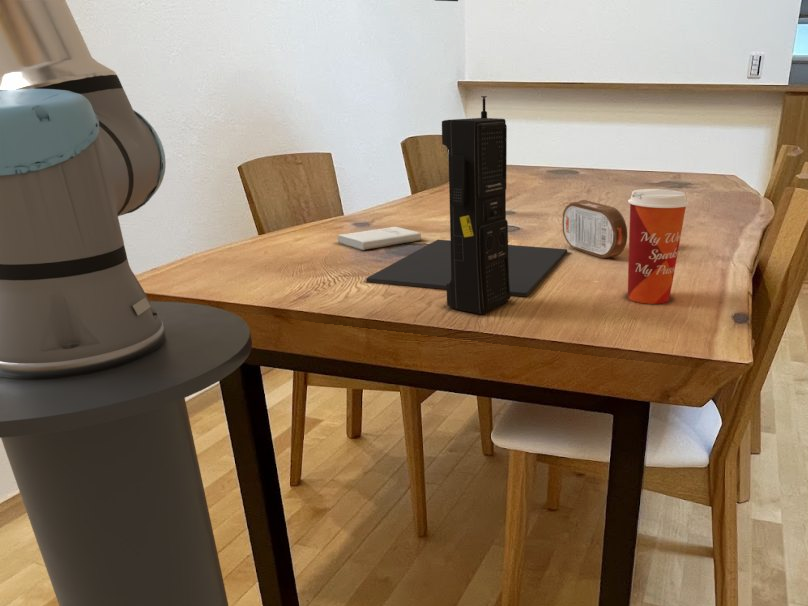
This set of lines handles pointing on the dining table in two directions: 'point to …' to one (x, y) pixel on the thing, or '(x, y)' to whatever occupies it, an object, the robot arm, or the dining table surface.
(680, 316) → the dining table surface
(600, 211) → the tin
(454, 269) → the portable radio
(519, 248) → the mat
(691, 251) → the dining table surface
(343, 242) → the hard drive
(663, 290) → the paper cup
